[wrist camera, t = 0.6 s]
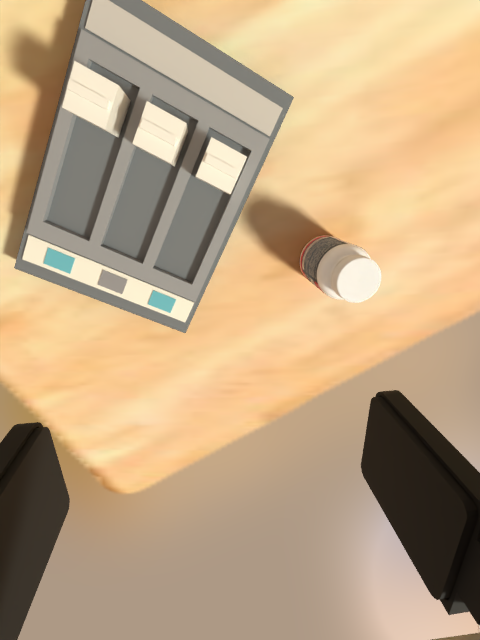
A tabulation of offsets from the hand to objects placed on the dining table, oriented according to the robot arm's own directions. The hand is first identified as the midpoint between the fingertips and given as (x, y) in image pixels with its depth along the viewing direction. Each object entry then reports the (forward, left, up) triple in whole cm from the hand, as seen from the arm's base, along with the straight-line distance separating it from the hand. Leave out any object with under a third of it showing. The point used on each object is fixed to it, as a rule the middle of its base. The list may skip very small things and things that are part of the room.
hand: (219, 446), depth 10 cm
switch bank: (-4, -7, -27) cm, 28 cm away
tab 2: (-8, -7, -25) cm, 27 cm away
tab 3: (-8, -2, -25) cm, 26 cm away
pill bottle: (-5, +12, -27) cm, 30 cm away
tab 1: (-8, -12, -25) cm, 29 cm away
